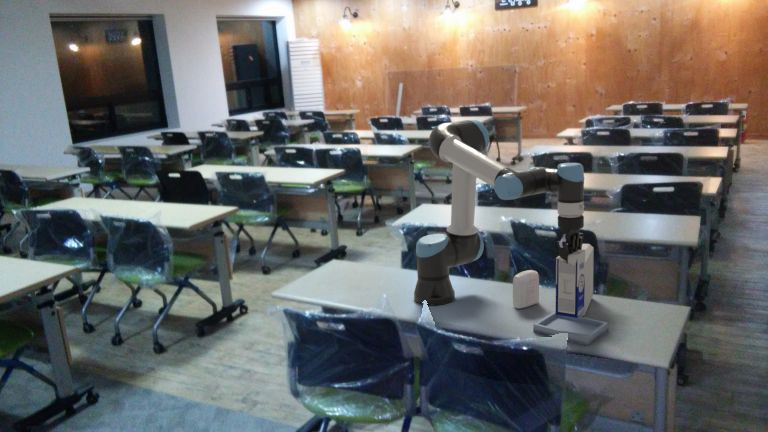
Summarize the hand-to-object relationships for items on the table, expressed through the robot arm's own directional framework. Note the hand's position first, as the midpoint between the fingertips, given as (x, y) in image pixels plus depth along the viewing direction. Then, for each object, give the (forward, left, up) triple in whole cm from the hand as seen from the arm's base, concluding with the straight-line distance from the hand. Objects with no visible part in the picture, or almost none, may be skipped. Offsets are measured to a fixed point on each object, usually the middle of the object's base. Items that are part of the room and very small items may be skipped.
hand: (570, 289), depth 191 cm
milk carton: (0, -2, -7) cm, 8 cm away
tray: (0, 0, -14) cm, 14 cm away
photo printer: (-23, +12, -14) cm, 30 cm away
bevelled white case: (-8, +20, -14) cm, 26 cm away
